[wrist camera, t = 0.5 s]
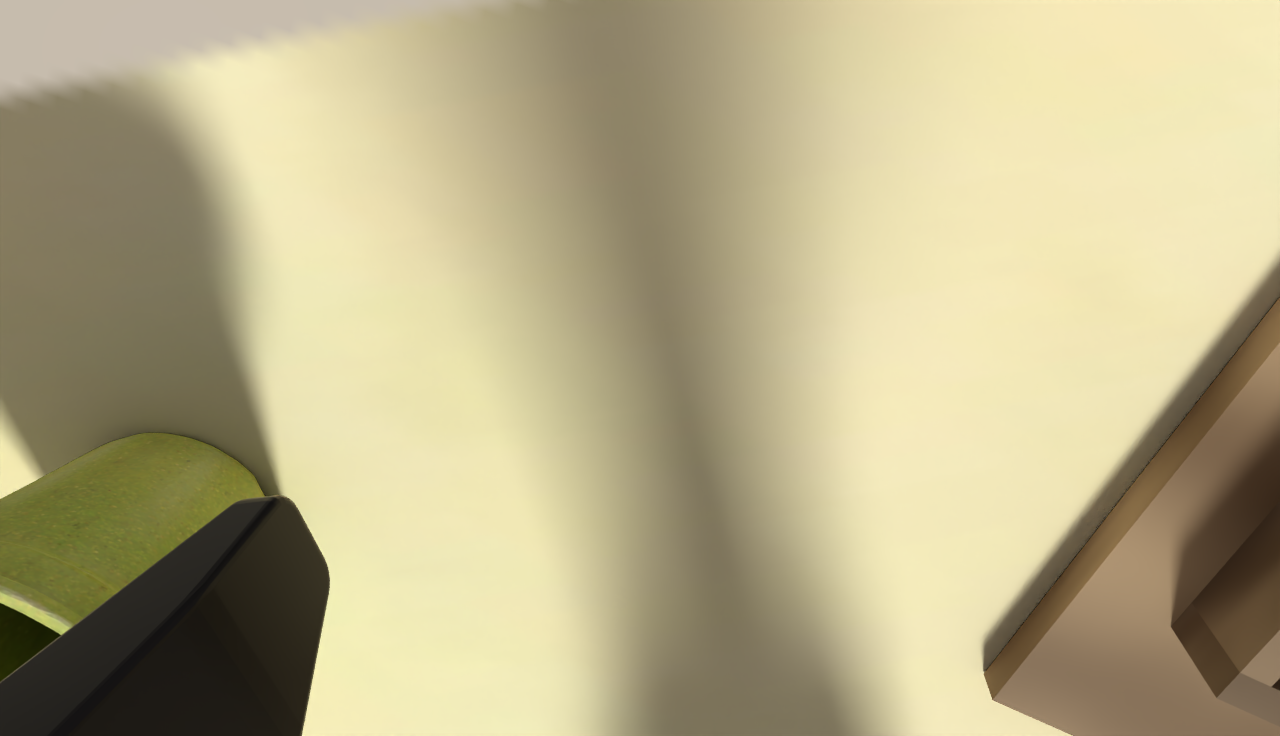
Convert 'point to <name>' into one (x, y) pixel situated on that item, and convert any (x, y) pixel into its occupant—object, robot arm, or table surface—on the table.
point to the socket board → (1173, 583)
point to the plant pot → (102, 530)
